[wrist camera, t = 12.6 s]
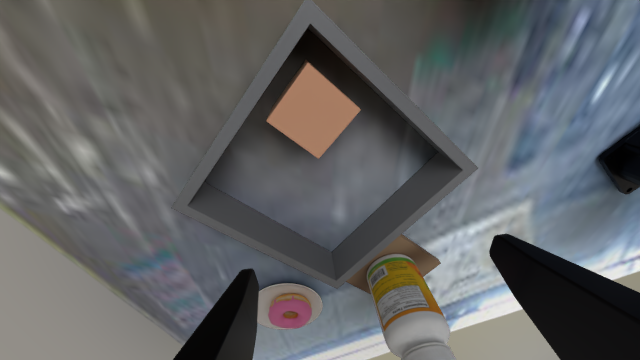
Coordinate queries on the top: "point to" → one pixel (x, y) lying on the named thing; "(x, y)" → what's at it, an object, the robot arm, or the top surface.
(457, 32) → the top surface
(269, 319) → the donut
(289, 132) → the terracotta cube
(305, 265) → the bin rim
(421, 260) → the walnut coaster
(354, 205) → the top surface
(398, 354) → the supplement bottle
